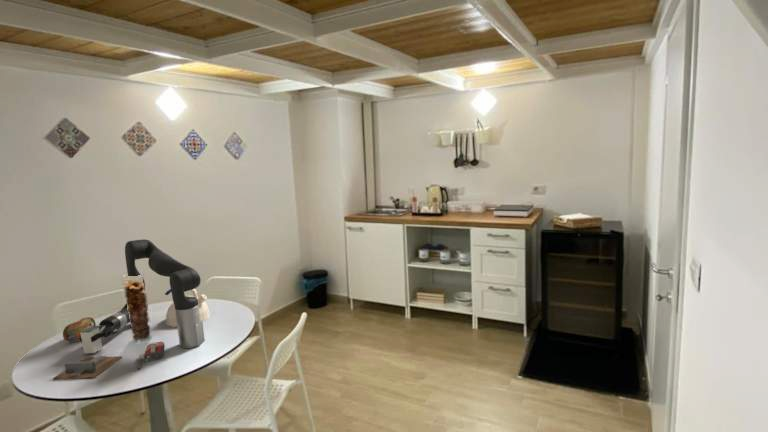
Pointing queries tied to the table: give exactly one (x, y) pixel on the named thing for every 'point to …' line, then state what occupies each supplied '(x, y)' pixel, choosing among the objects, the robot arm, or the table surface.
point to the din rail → (96, 359)
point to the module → (86, 338)
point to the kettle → (202, 305)
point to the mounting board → (99, 369)
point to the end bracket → (80, 367)
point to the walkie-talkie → (151, 353)
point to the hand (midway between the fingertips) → (86, 339)
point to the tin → (77, 329)
